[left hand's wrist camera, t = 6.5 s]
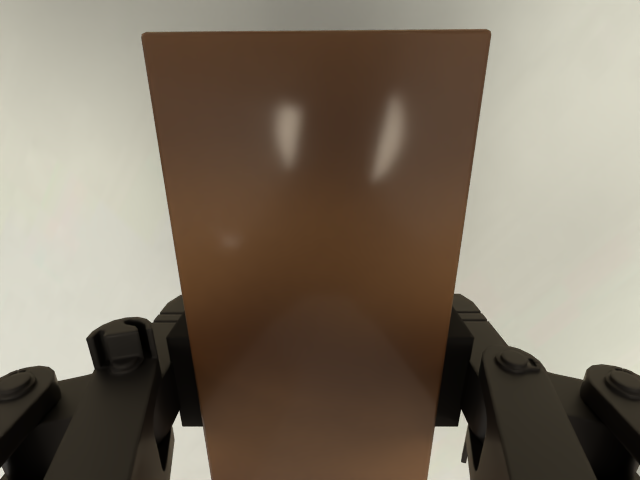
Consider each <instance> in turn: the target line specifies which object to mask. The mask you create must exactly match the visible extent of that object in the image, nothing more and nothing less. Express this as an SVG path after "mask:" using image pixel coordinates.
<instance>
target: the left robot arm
mask: <svg viewBox="0 0 640 480" xmlns="http://www.w3.org/2000/svg"><path fill="white" fill-rule="evenodd" d="M86 340H87V343H88V347H89V350H90V354H91V357H92V361H93V365H94V368H95V370H94V372H93V374H89V375H85V376H80V377H76V378H71V379H66V380H62V381H57V378H56V375H55V372H54V371H53V370H52V369H51V368H50V367H45V366H34V367H27V368H23V369H19V370H16V371H13V372H10V373H9V374H7V375H5V376H3V377H1V378H0V468H1V467H2V468H3V470H4V472H5V474H4V475H3V476H2V478H1V479H0V480H170V473H171V465H172V457H173V448H174V433H173V428H172V425H173V423H174V421H175V418H176V416H177V414H178V412H179V410H180V416H181V421H182V426H203V423H202V417H201V410H200V404H199V398H198V391H197V385H196V379H195V373H194V366H193V360H192V354H191V347H190V341H189V335H188V328H187V322H186V316H185V310H184V303H183V297H182V295H180V296H178V297H177V298H175V299H173V300H172V301H170V302H169V303H167V305H166V306H165V307H164V308H163V310H162V311H161V312H160V315H158V316H157V317H156V318H155V320H154V323H151V322H150V321H149V320H147V319H145V318H140V317H127V318H122V319H118V320H114V321H111V322H109V323H107V324H104V325H102V326H100V327H99V328H97V329H96V330H94V331H92V333H91V334H90V335H89V336H88V337H87V338H86ZM461 410H462V412H463V414H464V416H465V418H466V420H467V422H468V428H467V433H466V438H465V443H464V448H463V453H462V459H461V462H463V463H466V460H467V456H468V464H469V472H470V480H640V476H639V475H638V474H637V473H636V471H637V469H638V467H639V465H640V376H639V375H637V374H635V373H633V372H632V371H629V370H627V369H622V368H620V367H616V366H610V365H603V364H600V365H592V366H591V367H589V368H588V369H587V370H586V373H585V376H584V379H583V380H581V379H576V378H572V377H567V376H562V375H558V374H553V373H550V372H547V371H546V369H545V368H544V366H543V365H542V364H541V362H540V361H539V360H537V359H536V358H535V357H533V356H532V355H531V354H529V353H527V352H525V351H523V350H520V349H518V348H514V347H510V346H508V345H507V344H506V342H505V341H504V340H503V339H502V338H501V336H500V335H499V334H498V333H497V331H496V330H495V329H494V328H493V326H492V325H491V324H490V323H489V321H487V319H486V318H485V316H484V315H483V314H482V313H481V311H480V310H479V309H478V308H477V306H476V305H475V304H474V303H473V302H472V301H470V300H469V299H467V298H466V297H464V296H463V295H461V294H454V296H453V303H452V310H451V317H450V324H449V331H448V338H447V345H446V352H445V359H444V365H443V372H442V379H441V386H440V393H439V400H438V407H437V414H436V421H435V426H458V423H459V418H460V412H461Z"/></svg>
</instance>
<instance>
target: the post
mask: <svg viewBox="0 0 640 480" xmlns="http://www.w3.org/2000/svg"><path fill="white" fill-rule="evenodd" d="M141 39H142V45H143V51H144V57H145V64H146V70H147V76H148V83H149V89H150V95H151V102H152V108H153V114H154V121H155V127H156V133H157V139H158V146H159V152H160V158H161V165H162V171H163V177H164V184H165V190H166V196H167V202H168V209H169V215H170V221H171V228H172V234H173V240H174V247H175V253H176V259H177V265H178V272H179V278H180V284H181V291H182V297H183V303H184V310H185V316H186V322H187V328H188V335H189V341H190V347H191V354H192V360H193V366H194V373H195V379H196V385H197V391H198V398H199V404H200V410H201V417H202V423H203V429H204V436H205V442H206V448H207V454H208V461H209V467H210V473H211V480H427V477H428V470H429V463H430V456H431V449H432V442H433V435H434V428H435V421H436V414H437V407H438V400H439V393H440V386H441V379H442V372H443V365H444V359H445V352H446V345H447V338H448V331H449V324H450V317H451V310H452V303H453V296H454V289H455V282H456V275H457V268H458V261H459V254H460V247H461V241H462V234H463V227H464V220H465V213H466V206H467V199H468V192H469V185H470V178H471V171H472V164H473V157H474V150H475V143H476V136H477V129H478V122H479V116H480V109H481V102H482V95H483V88H484V81H485V74H486V67H487V60H488V53H489V46H490V39H491V31H489V30H487V29H433V30H318V31H202V32H145V33H143V34H142V37H141Z"/></svg>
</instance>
